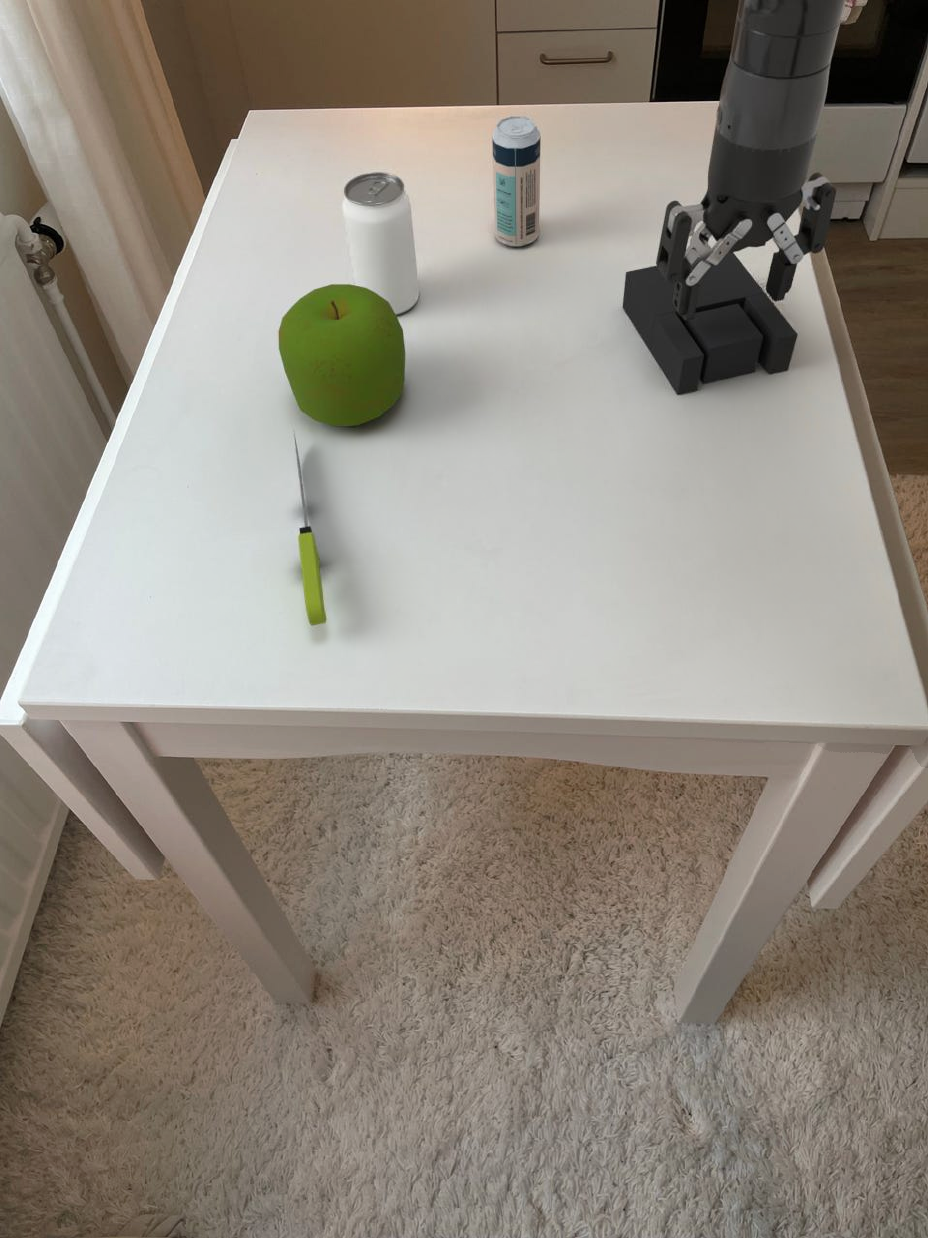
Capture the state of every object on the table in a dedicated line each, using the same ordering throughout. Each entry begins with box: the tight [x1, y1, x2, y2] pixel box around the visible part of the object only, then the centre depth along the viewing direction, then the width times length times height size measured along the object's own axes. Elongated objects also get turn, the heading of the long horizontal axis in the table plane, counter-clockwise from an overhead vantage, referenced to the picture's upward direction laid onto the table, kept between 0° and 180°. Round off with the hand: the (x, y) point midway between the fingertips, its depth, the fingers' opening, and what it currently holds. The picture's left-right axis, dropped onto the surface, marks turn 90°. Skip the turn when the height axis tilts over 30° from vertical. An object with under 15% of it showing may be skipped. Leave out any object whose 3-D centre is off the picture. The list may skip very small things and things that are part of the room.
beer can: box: [491, 115, 541, 248], centre depth 99 cm, size 5×5×12 cm
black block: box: [684, 304, 763, 385], centre depth 88 cm, size 5×5×4 cm
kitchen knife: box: [292, 429, 327, 626], centre depth 78 cm, size 22×1×3 cm, turn 11°
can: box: [341, 171, 420, 316], centre depth 93 cm, size 6×6×12 cm
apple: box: [278, 283, 406, 427], centre depth 85 cm, size 11×11×11 cm
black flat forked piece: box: [622, 251, 798, 396], centre depth 90 cm, size 14×11×4 cm
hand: (730, 305), depth 85 cm, fingers open, 8 cm apart
